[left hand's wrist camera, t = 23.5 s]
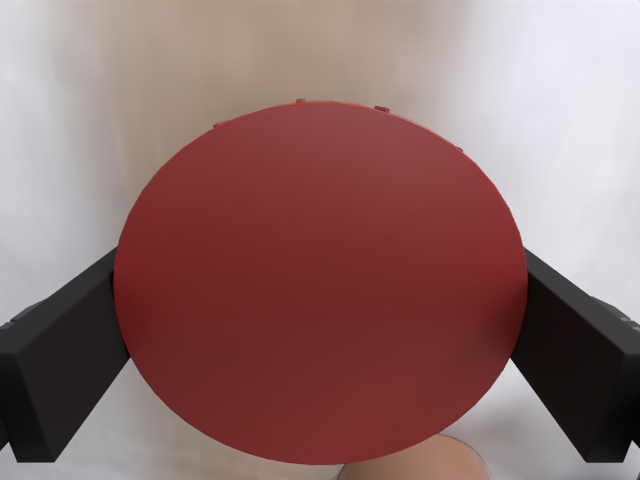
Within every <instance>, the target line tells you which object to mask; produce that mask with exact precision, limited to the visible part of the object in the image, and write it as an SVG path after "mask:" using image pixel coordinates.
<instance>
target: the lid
mask: <svg viewBox="0 0 640 480" xmlns="http://www.w3.org/2000/svg"><path fill="white" fill-rule="evenodd" d="M389 111H390V109H388V108H384V107H379V106H375V108H374V109H373V108H369V107H365V106H361V105H357V104H349V103H341V102H333V101H310V102H305V99H297V103H292V104H286V105H279V106H275V107H271V108H267V109H264V110H260V111H257V112H254V113H251V114H247V115H244V116H241V117H237V118H235V119H232V120H228V121H224V122H221V123H217V124H215V125H213V126H214V129H212V130H209V131H208V132H206V133H205V134H203V135H202V136H200V137H199V138H197V139H196V140H194V141H192V142H191V143H189V144H188V145H186V146H185V147H183V148H182V149H181V150H180V151H179V152H178V153H177V154H175V155H174V156H173V157H172V158H171V159H170V160H169V161H168V162H167V163H166V164H164V165H163V166H162V167H161V168H160V169H159V171H158V172H157V173H156V174H155V175H154V176H153V178H152V179H151V180H150V182H149V183H148V184H147V185H146V187H145V188H144V189H143V190H142V192H141V194H140V196H139V197H138V199H137V201H136V202H135V204H134V206H133V208H132V209H131V211H130V213H129V215H128V218H127V220H126V223H125V225H124V228H123V231H122V233H121V236H120V239H119V244H118V248H117V253H116V257H115V262H114V278H113V293H114V303H115V309H116V314H117V318H118V322H119V327H120V331H121V335H122V338H123V340H124V342H125V345H126V347H127V350H128V352H129V355H130V357H131V358H132V360H133V362H134V364H135V365H136V367H137V369H138V371H139V372H140V374H141V375H142V377H143V378H144V379H145V381H146V382H147V383H148V385H149V386H150V387H151V389H152V390H153V391H154V393H155V394H156V395H157V396H158V397H159V398H160V399H161V400H162V401H163V402H164V403H165V404H166V405H167V406H168V407H169V408H170V409H171V410H172V411H173V412H175V413H176V414H177V415H178V416H180V417H181V418H182V419H183V420H184V421H186V422H187V423H188V424H190V425H191V426H193V427H194V428H196V429H198V430H199V431H201V432H202V433H204V434H205V435H207V436H209V437H211V438H213V439H215V440H217V441H219V442H221V443H223V444H225V445H227V446H229V447H232V448H235V449H237V450H240V451H242V452H245V453H248V454H251V455H255V456H258V457H262V458H266V459H270V460H275V461H281V462H287V463H295V464H307V465H336V464H346V463H355V462H361V461H366V460H371V459H376V458H380V457H383V456H386V455H390V454H393V453H396V452H399V451H402V450H404V449H407V448H409V447H411V446H414V445H416V444H419V443H421V442H423V441H425V440H426V439H428V438H430V437H432V436H434V435H436V434H438V433H439V432H441V431H442V430H444V429H445V428H447V427H448V426H450V425H451V424H452V423H454V422H455V421H457V420H458V419H459V418H461V417H462V416H463V415H464V414H465V413H466V412H467V411H469V410H470V409H471V408H472V407H473V406H474V405H475V404H476V403H477V402H478V401H479V400H480V399H481V398H482V397H483V396H484V395H485V394H486V392H487V391H488V390H489V389H490V388H491V386H492V385H493V384H494V382H495V381H496V379H497V378H498V377H499V375H500V374H501V372H502V371H503V369H504V368H505V366H506V364H507V362H508V360H509V358H510V356H511V354H512V353H513V351H514V348H515V345H516V343H517V340H518V337H519V334H520V330H521V326H522V321H523V317H524V312H525V308H526V303H527V291H528V276H527V265H526V256H525V252H524V248H523V244H522V240H521V236H520V232H519V230H518V228H517V225H516V223H515V221H514V218H513V216H512V214H511V211H510V209H509V207H508V205H507V204H506V202H505V201H504V199H503V198H502V196H501V194H500V193H499V191H498V190H497V188H496V186H495V185H494V184H493V183H492V181H491V180H490V179H489V178H488V177H487V176H486V175H485V173H484V172H483V171H482V170H481V169H480V168H479V166H478V165H477V164H476V163H475V162H474V161H472V160H471V159H470V158H469V157H468V156H467V155H465V154H464V153H463V150H462V149H461V148H459V147H456V146H455V145H453V144H452V143H450V142H449V141H447V140H446V139H444V138H442V137H441V136H439V135H437V134H436V133H434V132H433V131H431V130H429V129H428V128H426V127H424V126H421V125H419V124H417V123H414V122H412V121H410V120H407V119H405V118H403V117H400V116H398V115H395V114H391V113H389Z"/></svg>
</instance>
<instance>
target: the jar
mask: <svg viewBox="0 0 640 480" xmlns="http://www.w3.org/2000/svg"><path fill="white" fill-rule="evenodd" d="M338 480H492V478H491V476H490V474H489V471H488V469H487V467H486V465H485V463H484V461H483V460H482V458H481V457H480V456H479V455H478V454H477V453H476V452H475V451H474V450H473V449H472V448H470V447H469V446H467V445H466V444H464V443H462V442H460V441H458V440H456V439H453V438H450V437H447V436H443V435H439V434H436V435H434V436H432V437H430V438H428V439H426V440H425V441H423V442H421V443H419V444H416V445H414V446H411V447H409V448H407V449H404V450H402V451H399V452H396V453H393V454H390V455H386V456H383V457H380V458H376V459H371V460H366V461H361V462H355V463H347V464H346V465H345V466H344V468H343V469H342V471H341V473H340V475H339V477H338Z"/></svg>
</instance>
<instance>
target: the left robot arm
mask: <svg viewBox="0 0 640 480" xmlns="http://www.w3.org/2000/svg"><path fill="white" fill-rule="evenodd" d="M117 248H118V246H117V247H116V248H114V249H113V250H112V251H110V252H109V253H108V254H106V255H105V256H104V257H102V258H101V259H99V260H98V261H97V262H95V263H94V264H93V265H91V266H90V267H89V268H87V269H86V270H85V271H83V272H82V273H81V274H79V275H78V276H77V277H75V278H74V279H73V280H71V281H70V282H69V283H67V284H66V285H65V286H63V287H62V288H61V289H59V290H58V291H57V292H55V293H54V294H52V295H51V296H50V297H48V298H47V299H45V300H43V301H40V302H38V303H36V304H34V305H32V306H30V307H28V308H26V309H25V310H23V311H22V312H20V313H19V314H18V315H16V316H15V317H14V318H12V319H11V320H10V322H7V323H5V324H4V325H3V326H1V327H0V451H1V450H2V448H3V447H4V446H5V445H6V444H7V443H8V442H9V443H10V446H11V448H12V450H13V453H14V455H15V458H16V460H17V463H54V462H55V461H56V459H57V458H58V457H59V455H60V454H61V453H62V451H63V450H64V448H65V447H66V446H67V444H68V443H69V441H70V440H71V439H72V437H73V436H74V435H75V433H76V432H77V430H78V429H79V428H80V426H81V425H82V424H83V422H84V421H85V419H86V418H87V417H88V415H89V414H90V412H91V411H92V410H93V408H94V407H95V406H96V404H97V403H98V401H99V400H100V399H101V397H102V396H103V394H104V393H105V392H106V390H107V389H108V388H109V386H110V385H111V383H112V382H113V381H114V379H115V378H116V377H117V375H118V374H119V372H120V371H121V370H122V368H123V367H124V365H125V364H126V363H127V361H128V360H129V359H130V355H129V352H128V350H127V347H126V345H125V342H124V340H123V338H122V335H121V331H120V327H119V322H118V318H117V314H116V309H115V303H114V293H113V278H114V262H115V257H116V253H117ZM523 248H524V252H525V256H526V265H527V276H528V291H527V303H526V308H525V312H524V317H523V321H522V326H521V330H520V334H519V337H518V340H517V343H516V345H515V348H514V351H513V353H512V354H511V356H510V358H511V360H512V361H513V362H514V364H515V365H516V367H517V368H518V369H519V371H520V372H521V373H522V375H523V376H524V378H525V379H526V380H527V382H528V383H529V384H530V386H531V387H532V389H533V390H534V391H535V393H536V394H537V396H538V397H539V398H540V400H541V401H542V402H543V404H544V405H545V407H546V408H547V409H548V411H549V412H550V414H551V415H552V416H553V418H554V419H555V420H556V422H557V423H558V425H559V426H560V427H561V429H562V430H563V431H564V433H565V434H566V436H567V437H568V438H569V440H570V441H571V443H572V444H573V445H574V447H575V448H576V449H577V451H578V452H579V454H580V455H581V456H582V458H583V459H584V460H585V462H586V463H623V461H624V459H625V456H626V454H627V451H628V449H629V446H630V444H631V441H632V440H633V441H634V443H635V444H636V445H637V446H638V447H639V448H640V325H639V324H638V323H636V322H635V321H631V320H630V319H631V318H629V317H628V316H626V315H625V314H624V313H622V312H621V311H619V310H618V309H617V308H615V307H614V306H612V305H610V304H607V303H605V302H603V301H601V300H599V299H597V298H595V297H592V296H589V295H588V294H586V293H585V292H584V291H582V290H581V289H580V288H578V287H577V286H576V285H574V284H573V283H572V282H570V281H569V280H568V279H566V278H565V277H564V276H562V275H561V274H560V273H558V272H557V271H556V270H554V269H553V268H552V267H550V266H549V265H547V264H546V263H545V262H543V261H542V260H541V259H539V258H538V257H537V256H535V255H534V254H533V253H531V252H530V251H529V250H527V249H526V248H525V247H523ZM636 480H640V473H639V475H638V477H637V479H636Z"/></svg>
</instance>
